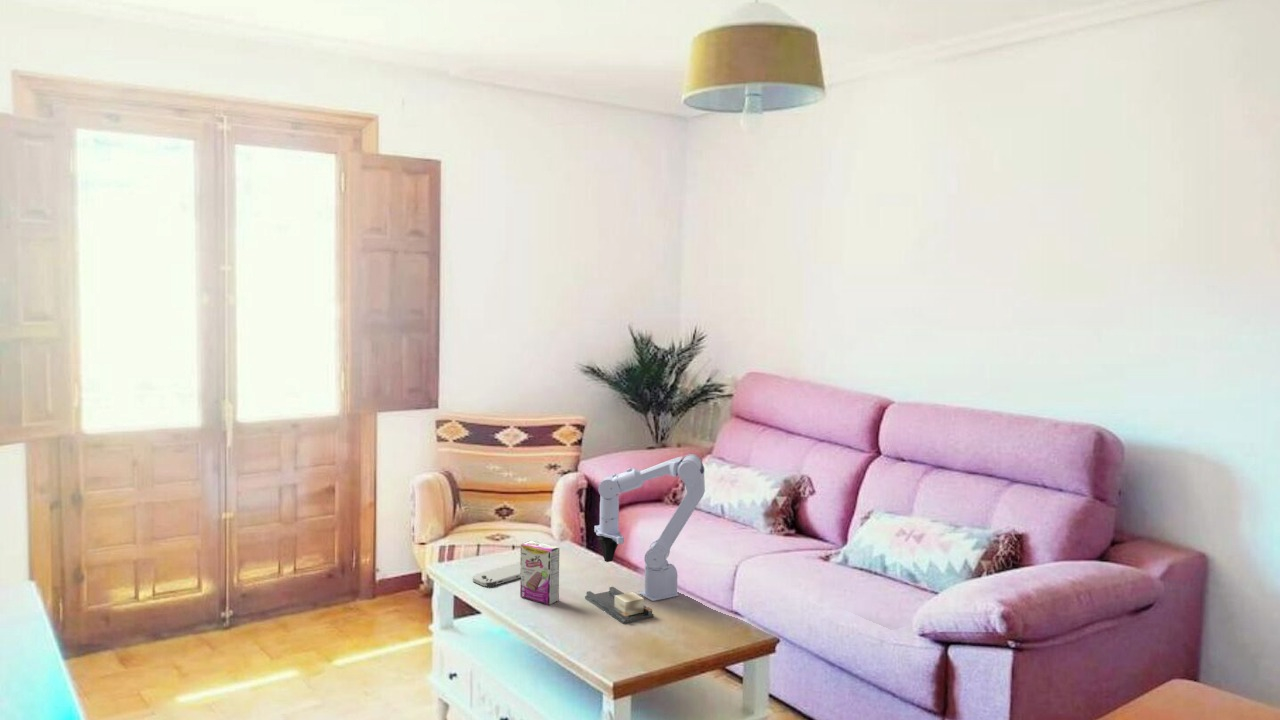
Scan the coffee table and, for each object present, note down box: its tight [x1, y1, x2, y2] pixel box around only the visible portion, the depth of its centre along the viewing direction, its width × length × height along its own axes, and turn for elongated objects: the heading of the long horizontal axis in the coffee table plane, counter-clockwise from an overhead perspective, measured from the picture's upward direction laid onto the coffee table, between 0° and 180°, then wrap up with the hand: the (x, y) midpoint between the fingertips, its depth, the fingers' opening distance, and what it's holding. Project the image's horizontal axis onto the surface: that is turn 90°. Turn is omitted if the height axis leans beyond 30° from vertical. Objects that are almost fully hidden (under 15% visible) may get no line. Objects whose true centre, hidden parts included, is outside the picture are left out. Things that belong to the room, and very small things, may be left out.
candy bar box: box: [519, 540, 560, 606], centre depth 264 cm, size 11×5×16 cm, turn 58°
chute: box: [584, 586, 655, 625], centre depth 259 cm, size 10×22×2 cm, turn 32°
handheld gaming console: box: [472, 561, 521, 588], centre depth 285 cm, size 23×3×10 cm
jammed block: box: [614, 591, 645, 615], centre depth 254 cm, size 6×6×4 cm
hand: (608, 561), depth 272 cm, fingers closed
